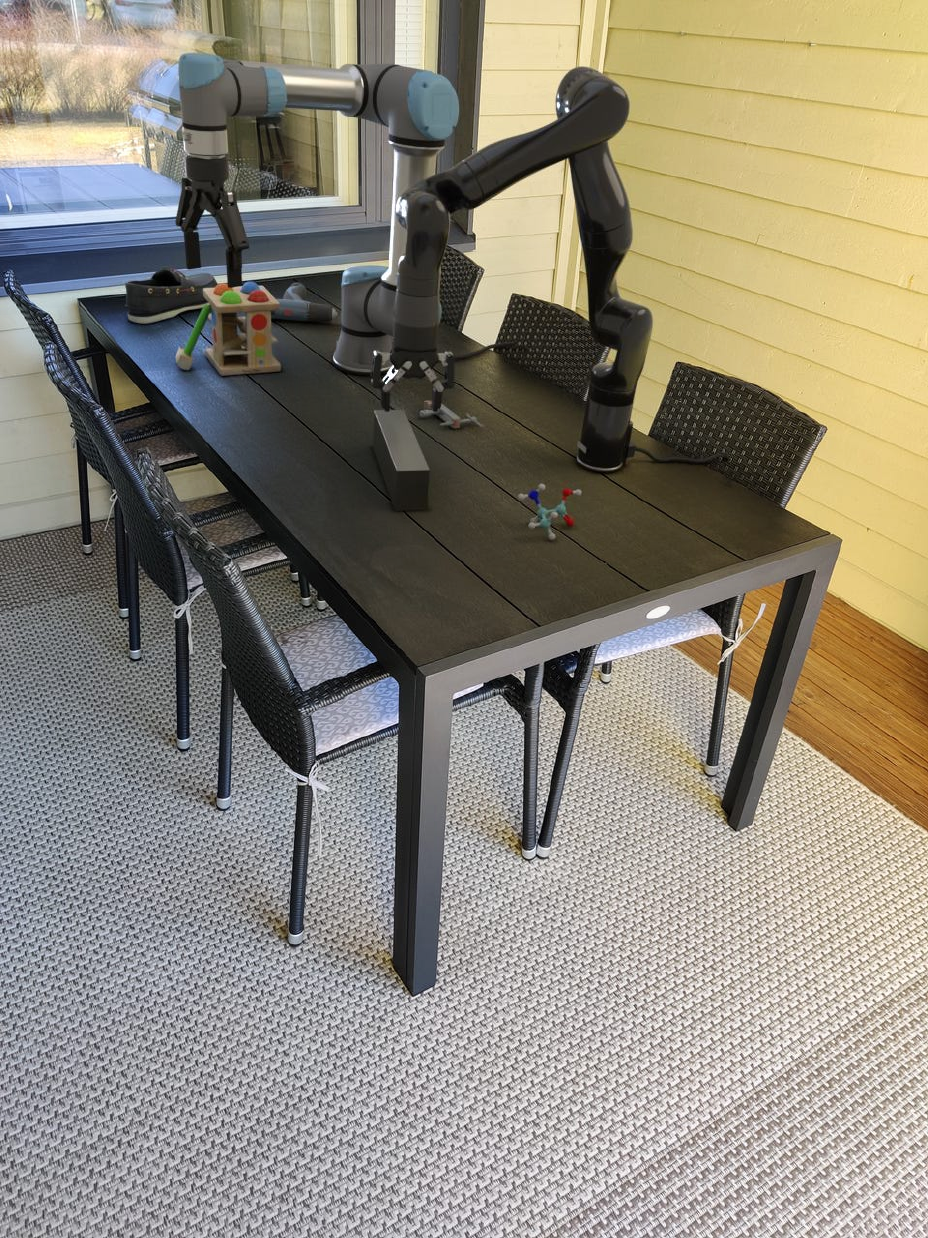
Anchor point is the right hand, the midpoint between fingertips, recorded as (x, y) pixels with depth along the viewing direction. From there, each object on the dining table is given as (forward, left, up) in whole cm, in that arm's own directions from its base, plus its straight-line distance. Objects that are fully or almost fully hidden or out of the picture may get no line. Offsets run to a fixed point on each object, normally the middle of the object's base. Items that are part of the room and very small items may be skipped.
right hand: (410, 410), depth 172 cm
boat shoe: (+6, -120, -18) cm, 121 cm away
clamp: (-26, -29, -18) cm, 42 cm away
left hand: (+20, -42, +13) cm, 49 cm away
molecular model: (-18, +19, -18) cm, 32 cm away
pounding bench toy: (+8, -76, -18) cm, 78 cm away
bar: (-3, -9, -18) cm, 20 cm away
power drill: (-26, -107, -18) cm, 111 cm away
